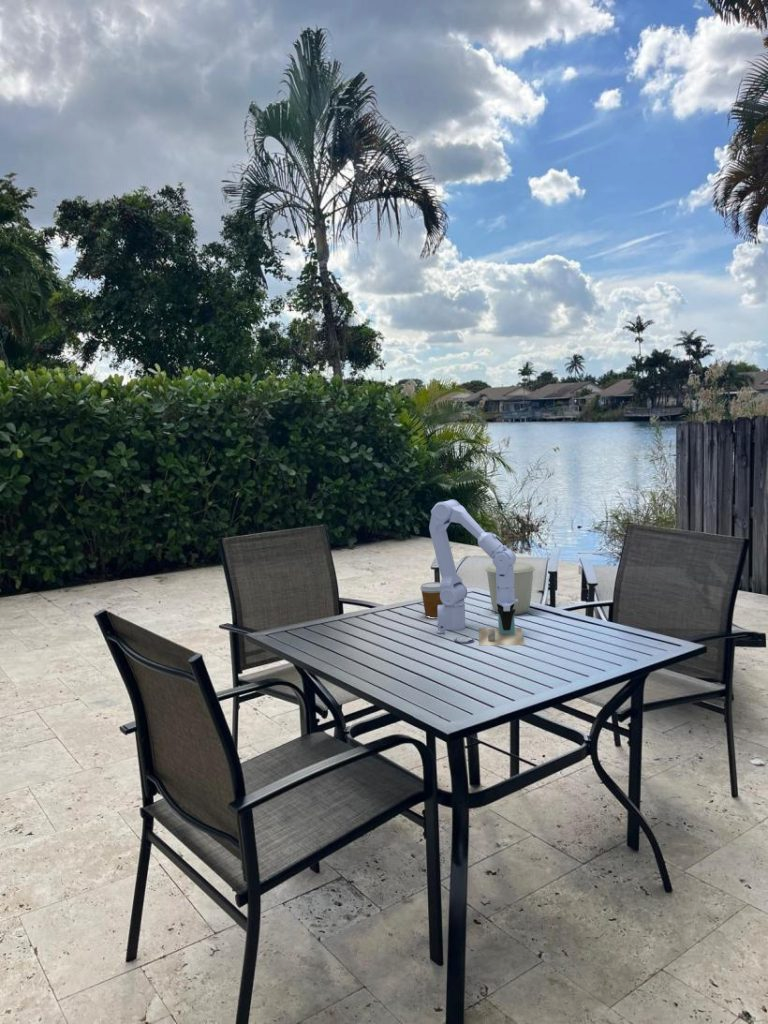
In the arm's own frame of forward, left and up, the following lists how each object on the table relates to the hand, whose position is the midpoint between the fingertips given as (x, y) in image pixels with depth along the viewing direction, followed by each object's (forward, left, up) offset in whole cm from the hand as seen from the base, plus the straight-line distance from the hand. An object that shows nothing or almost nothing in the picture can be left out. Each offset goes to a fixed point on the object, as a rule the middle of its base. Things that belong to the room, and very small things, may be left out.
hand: (506, 627), depth 237 cm
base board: (-2, -5, -3) cm, 6 cm away
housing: (0, 0, -1) cm, 1 cm away
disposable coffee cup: (-25, +26, -3) cm, 36 cm away
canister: (+3, +32, -3) cm, 32 cm away
